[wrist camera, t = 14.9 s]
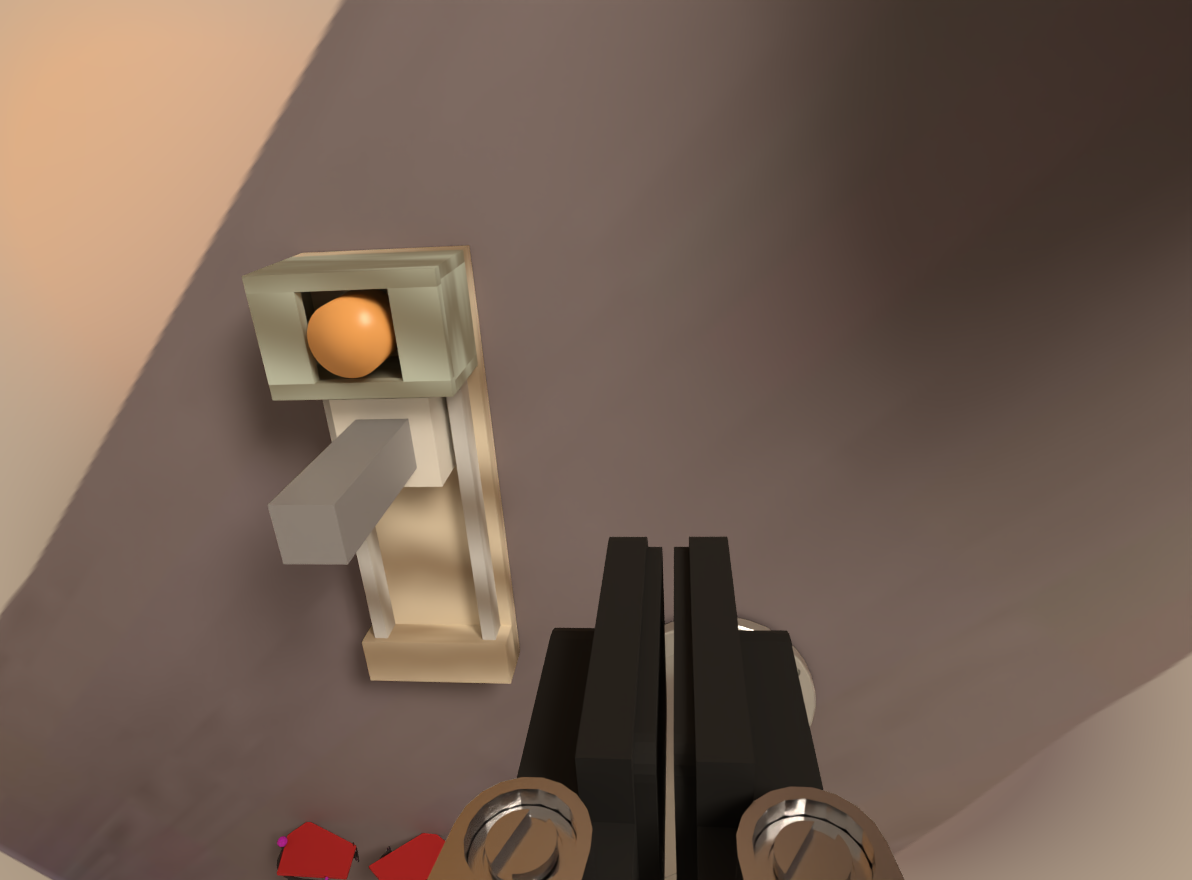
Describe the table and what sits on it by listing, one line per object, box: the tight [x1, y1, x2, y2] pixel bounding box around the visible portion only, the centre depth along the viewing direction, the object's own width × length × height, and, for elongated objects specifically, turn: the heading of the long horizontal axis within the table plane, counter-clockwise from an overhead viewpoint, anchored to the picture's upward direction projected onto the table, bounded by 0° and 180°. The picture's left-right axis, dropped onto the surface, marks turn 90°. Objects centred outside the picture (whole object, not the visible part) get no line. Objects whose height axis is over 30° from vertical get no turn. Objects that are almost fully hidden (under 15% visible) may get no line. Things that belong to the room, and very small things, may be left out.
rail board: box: [242, 245, 520, 684], centre depth 41 cm, size 26×9×6 cm, turn 3°
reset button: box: [307, 289, 398, 378], centre depth 35 cm, size 4×4×3 cm
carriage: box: [268, 397, 456, 565], centre depth 35 cm, size 5×5×12 cm
